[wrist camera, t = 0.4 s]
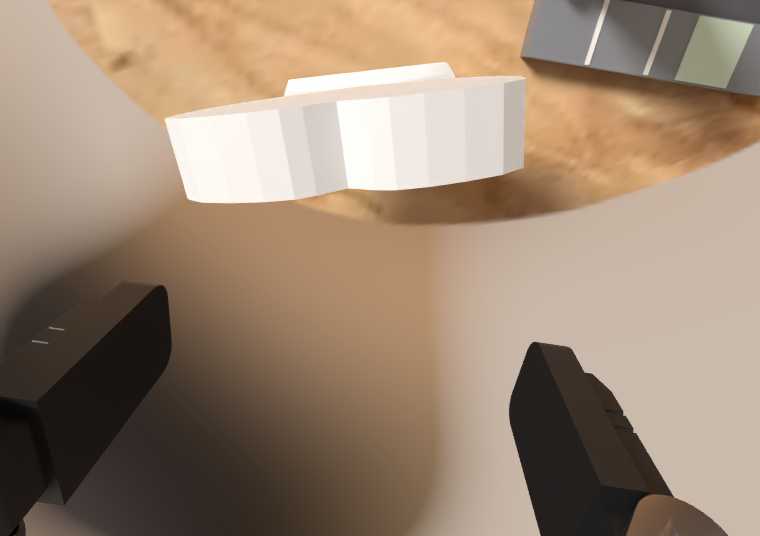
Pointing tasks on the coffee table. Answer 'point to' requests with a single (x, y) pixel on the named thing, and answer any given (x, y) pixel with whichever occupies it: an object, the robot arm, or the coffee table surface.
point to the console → (653, 39)
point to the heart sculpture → (353, 135)
